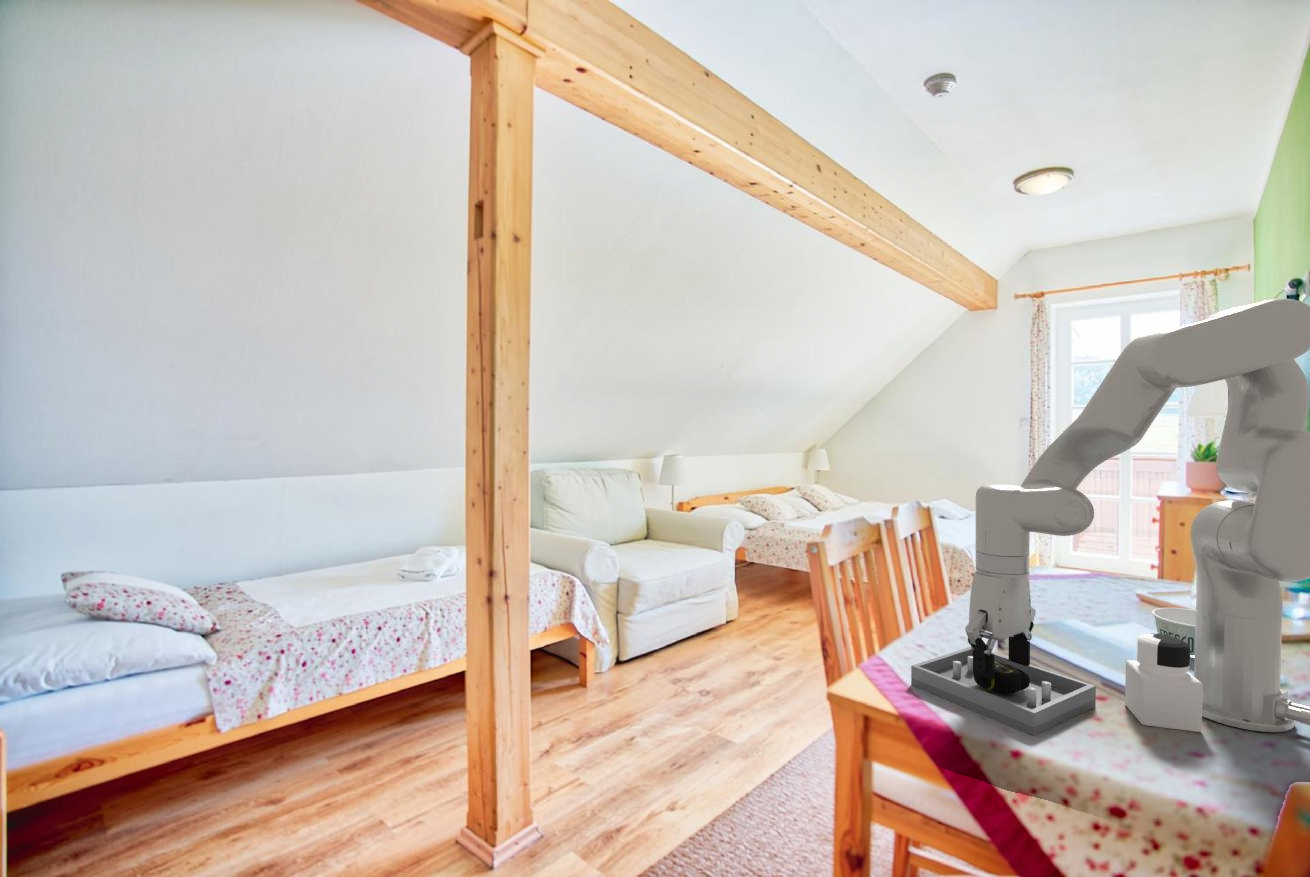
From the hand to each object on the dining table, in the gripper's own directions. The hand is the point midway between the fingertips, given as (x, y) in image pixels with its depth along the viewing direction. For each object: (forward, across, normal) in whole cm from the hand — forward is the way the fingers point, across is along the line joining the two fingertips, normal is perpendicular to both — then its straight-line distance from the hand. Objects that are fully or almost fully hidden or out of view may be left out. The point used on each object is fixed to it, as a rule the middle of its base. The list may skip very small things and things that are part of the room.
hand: (1001, 669), depth 103 cm
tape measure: (+3, 0, 0) cm, 3 cm away
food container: (+5, -48, +8) cm, 49 cm away
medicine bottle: (+4, -12, +17) cm, 21 cm away
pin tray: (+4, 0, 0) cm, 4 cm away
